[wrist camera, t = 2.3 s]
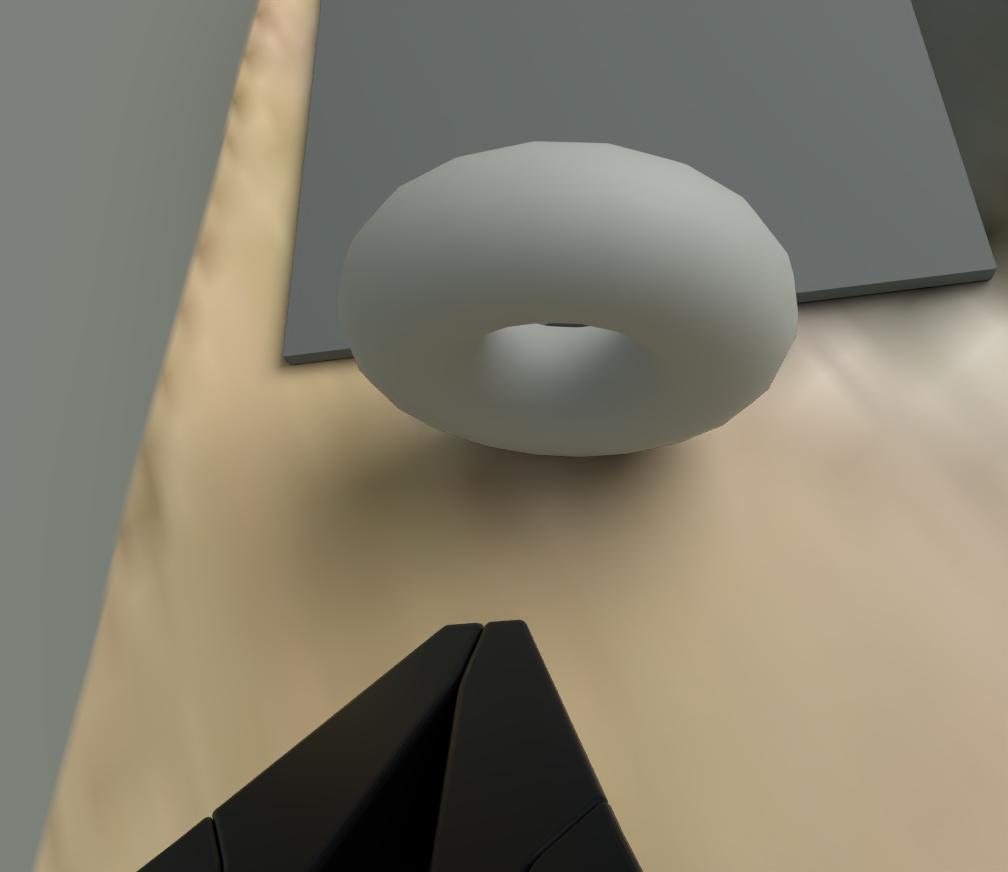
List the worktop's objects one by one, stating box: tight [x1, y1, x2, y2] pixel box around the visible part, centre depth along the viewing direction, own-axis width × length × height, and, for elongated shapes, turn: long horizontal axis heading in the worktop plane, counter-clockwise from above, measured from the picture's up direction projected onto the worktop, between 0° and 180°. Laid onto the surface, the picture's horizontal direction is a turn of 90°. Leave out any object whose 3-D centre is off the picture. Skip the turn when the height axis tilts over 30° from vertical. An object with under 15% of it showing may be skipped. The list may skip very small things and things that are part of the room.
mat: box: [283, 0, 997, 365], centre depth 29 cm, size 20×20×1 cm
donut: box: [338, 141, 798, 457], centre depth 19 cm, size 10×4×10 cm, turn 86°
